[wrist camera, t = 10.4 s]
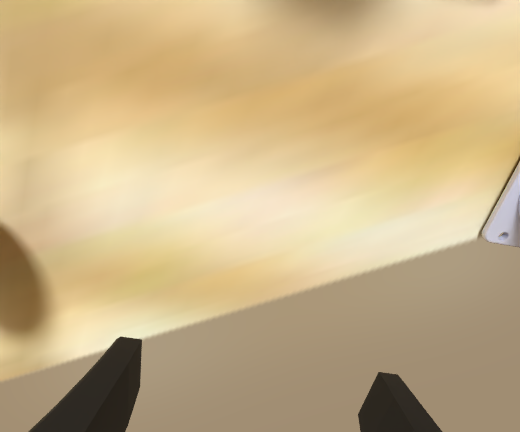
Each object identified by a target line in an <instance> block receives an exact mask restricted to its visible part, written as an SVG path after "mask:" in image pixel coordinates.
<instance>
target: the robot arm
mask: <svg viewBox="0 0 520 432" xmlns="http://www.w3.org/2000/svg"><path fill="white" fill-rule="evenodd" d="M503 232H504V233H503ZM501 233H503V235H502V236H500V237H499V235H500V234H501ZM482 237H483V238H484V239H485V240H486V241H488V242H492V243H498V244H503V245H509V246H515V247H520V162H519V164H518V166H517V167H516V169H515V171H514V173H513V175H512V177H511V178H510V180H509V182H508V184H507V186H506V188H505V190H504V191H503V193H502V195H501V197H500V199H499V201H498V203H497V204H496V206H495V208H494V210H493V212H492V214H491V216H490V217H489V219H488V221H487V223H486V225H485V227H484V228H483V230H482ZM141 347H142V340H141V339H134V338H126V337H119V338H118V339H116V341H115V342H114V343H113V344H112V345H111V347H110V348H109V349H108V350H107V351H106V352H105V354H104V355H103V356H102V357H101V358H100V360H98V362H97V363H96V364H95V365H94V366H93V367H92V368H91V369H90V370H89V372H88V373H87V374H86V375H85V376H84V377H83V378H82V379H81V380H80V381H79V382H78V383H77V384H76V385H75V386H74V387H73V388H72V389H71V390H70V391H69V393H68V394H67V395H66V396H65V397H64V398H63V399H62V400H61V401H60V402H59V403H58V404H57V405H56V406H55V407H54V408H53V409H52V410H51V411H50V412H49V413H48V414H47V415H46V416H45V417H43V418H42V419H41V420H40V421H39V422H38V423H37V424H36V425H35V426H34V427H33V428H32V429H31V430H30V431H29V432H125V430H126V428H127V426H128V423H129V420H130V417H131V414H132V411H133V407H134V404H135V401H136V398H137V394H138V391H139V388H140V372H141ZM358 417H359V424H360V430H361V432H442V431H441V430H440V428H439V427H438V426H437V424H436V423H435V422H434V421H433V419H432V418H431V417H430V415H429V414H428V413H427V412H426V410H425V409H424V408H423V406H422V405H421V404H420V403H419V401H418V400H417V399H416V397H415V396H414V395H413V393H412V392H411V391H410V390H409V388H408V387H407V386H406V384H405V383H404V382H403V381H402V379H401V378H400V377H399V376H398V375H396V374H389V373H382V372H379V373H378V375H377V377H376V379H375V381H374V383H373V385H372V387H371V389H370V391H369V393H368V395H367V397H366V399H365V401H364V403H363V405H362V408H361V409H360V412H359V414H358Z"/></svg>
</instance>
